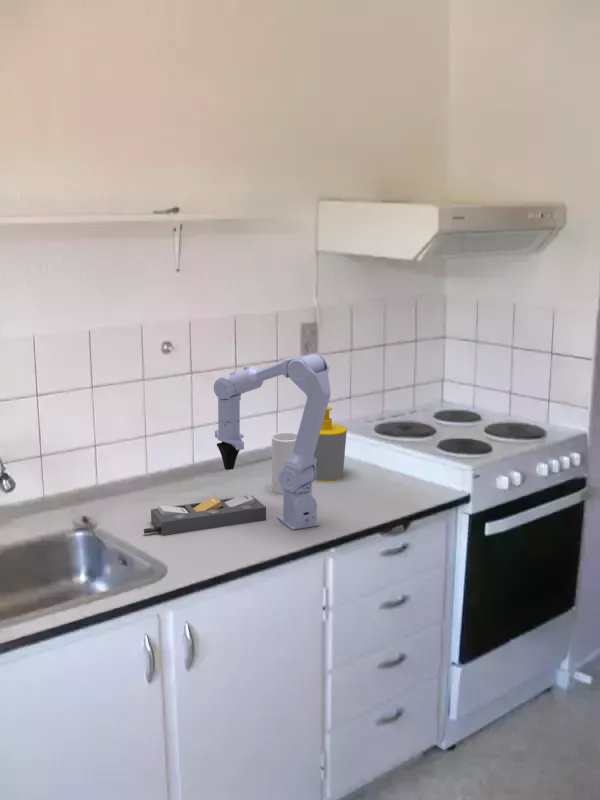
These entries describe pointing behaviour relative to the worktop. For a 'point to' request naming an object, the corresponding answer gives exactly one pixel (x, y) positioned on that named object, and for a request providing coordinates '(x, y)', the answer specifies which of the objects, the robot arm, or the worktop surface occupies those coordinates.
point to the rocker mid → (209, 504)
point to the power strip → (206, 517)
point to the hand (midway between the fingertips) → (229, 469)
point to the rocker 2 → (240, 500)
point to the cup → (281, 455)
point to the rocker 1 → (171, 510)
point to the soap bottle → (330, 450)
